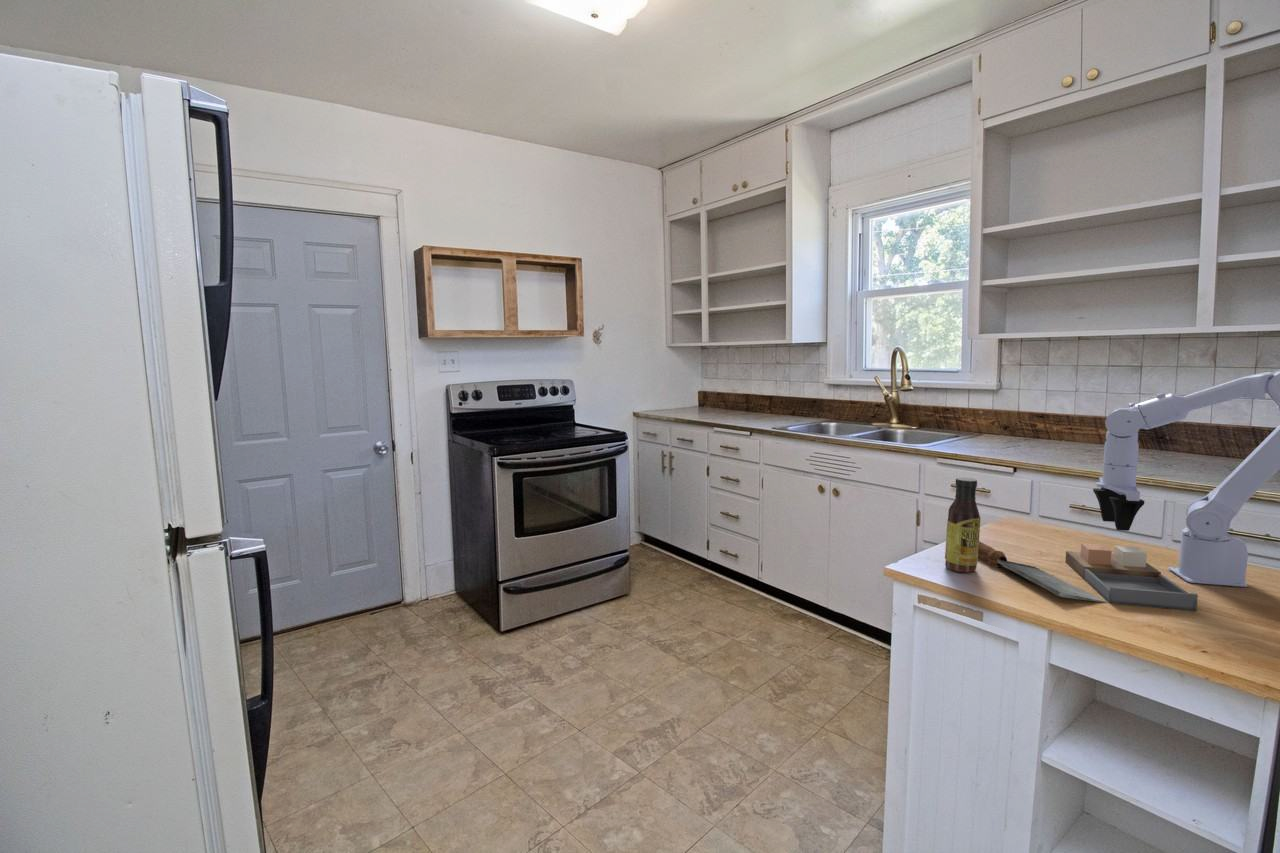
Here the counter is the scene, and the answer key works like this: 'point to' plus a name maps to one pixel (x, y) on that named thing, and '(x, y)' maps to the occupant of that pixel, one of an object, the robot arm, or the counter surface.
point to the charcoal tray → (1141, 591)
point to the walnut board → (1108, 567)
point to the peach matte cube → (1095, 554)
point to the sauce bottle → (963, 528)
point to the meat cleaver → (1034, 575)
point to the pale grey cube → (1130, 556)
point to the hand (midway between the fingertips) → (1115, 525)
